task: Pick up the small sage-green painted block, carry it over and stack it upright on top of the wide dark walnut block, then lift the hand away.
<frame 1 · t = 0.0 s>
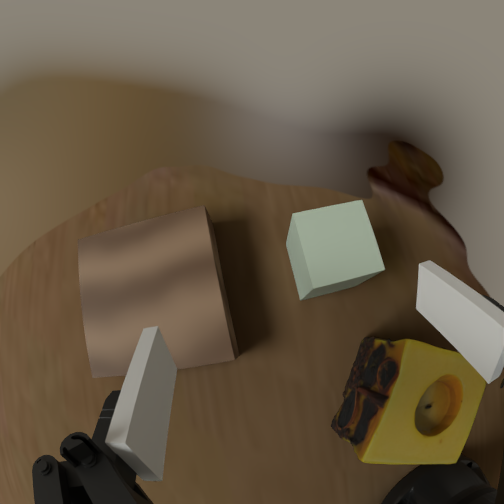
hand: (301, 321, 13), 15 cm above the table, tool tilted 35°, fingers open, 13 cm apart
sage block: (321, 265, 29), on the table
candle: (387, 391, 26), on the table
walnut block: (161, 300, 30), on the table
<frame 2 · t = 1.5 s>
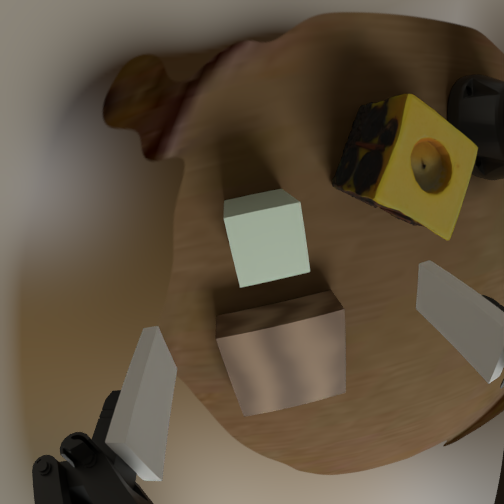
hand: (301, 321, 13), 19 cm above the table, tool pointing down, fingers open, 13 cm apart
sage block: (258, 222, 31), on the table
candle: (380, 162, 30), on the table
walnut block: (282, 346, 37), on the table
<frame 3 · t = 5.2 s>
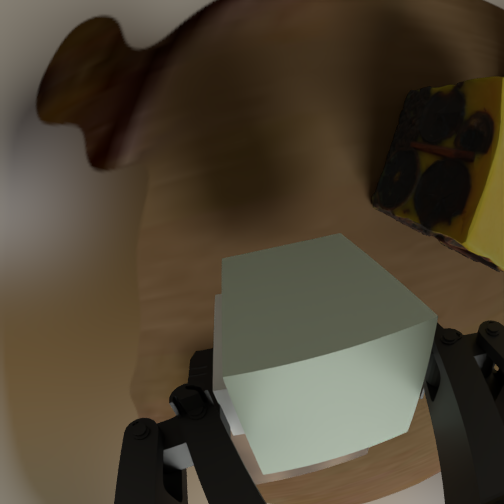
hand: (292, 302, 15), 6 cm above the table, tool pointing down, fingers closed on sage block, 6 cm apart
sage block: (291, 298, 15), point 6 cm above the table, touching gripper
candle: (431, 172, 20), on the table
walnut block: (292, 408, 27), on the table
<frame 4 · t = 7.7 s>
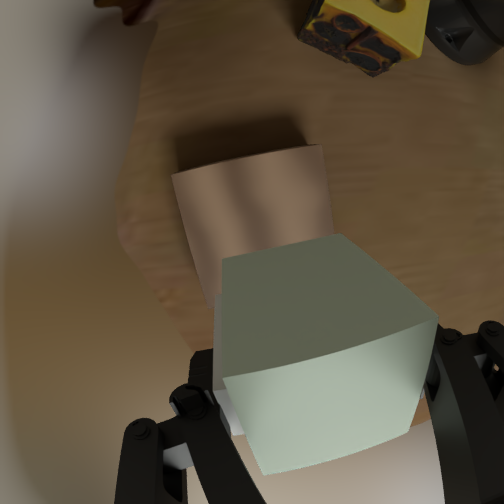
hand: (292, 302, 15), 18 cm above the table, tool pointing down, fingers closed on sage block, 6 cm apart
sage block: (291, 298, 15), point 18 cm above the table, touching gripper
candle: (346, 28, 25), on the table
walnut block: (256, 218, 32), on the table
when the fingers open (6 cm above the table, at t = 10.5 s): sage block moves 1 cm, point 5 cm above the table.
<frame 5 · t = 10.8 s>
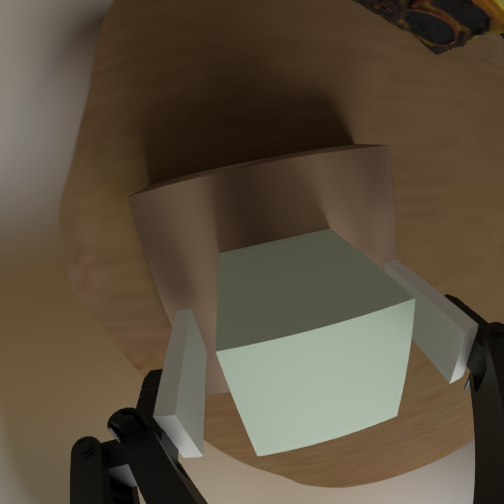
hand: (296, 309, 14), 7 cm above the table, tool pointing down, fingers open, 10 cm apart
sage block: (285, 291, 16), point 5 cm above the table
walnut block: (273, 258, 21), on the table
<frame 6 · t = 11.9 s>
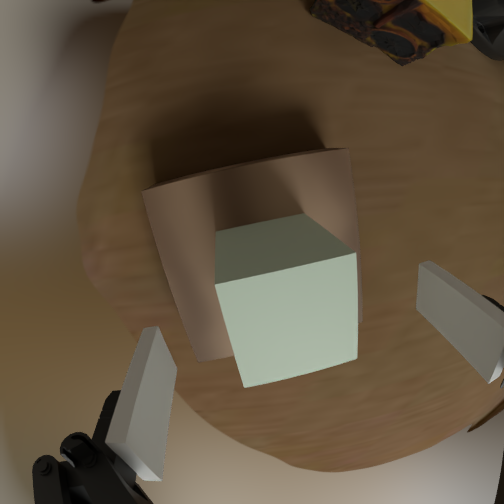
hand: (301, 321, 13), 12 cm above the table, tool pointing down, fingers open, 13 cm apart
sage block: (268, 263, 20), point 5 cm above the table
candle: (367, 6, 18), on the table
walnut block: (258, 244, 25), on the table
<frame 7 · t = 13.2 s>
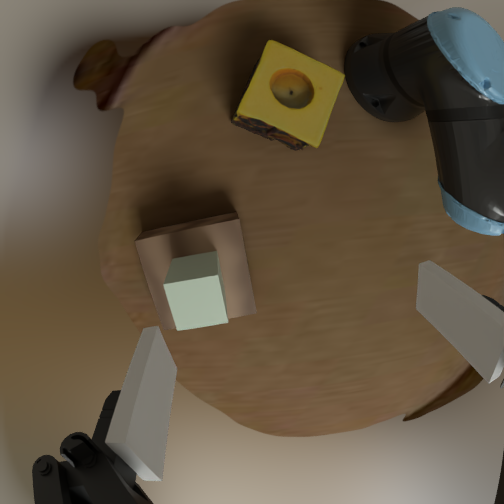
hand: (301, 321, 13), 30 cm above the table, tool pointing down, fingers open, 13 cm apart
sage block: (199, 275, 39), point 5 cm above the table, touching walnut block
candle: (275, 105, 37), on the table
walnut block: (199, 265, 44), on the table, touching sage block
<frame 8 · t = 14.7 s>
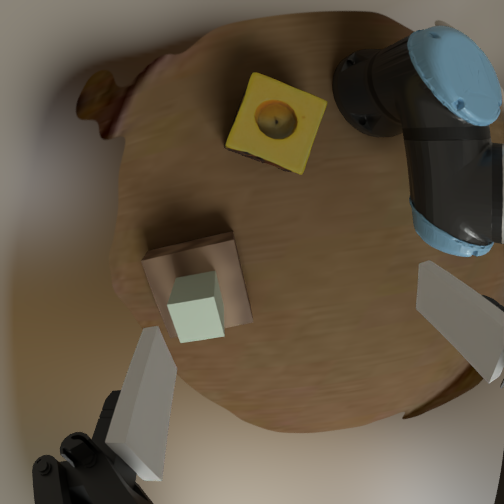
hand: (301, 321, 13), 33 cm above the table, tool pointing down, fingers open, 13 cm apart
sage block: (200, 292, 43), point 4 cm above the table, touching walnut block
candle: (266, 129, 41), on the table
walnut block: (200, 279, 48), on the table, touching sage block
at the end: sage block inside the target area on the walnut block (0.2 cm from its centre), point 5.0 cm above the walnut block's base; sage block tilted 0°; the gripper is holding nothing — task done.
